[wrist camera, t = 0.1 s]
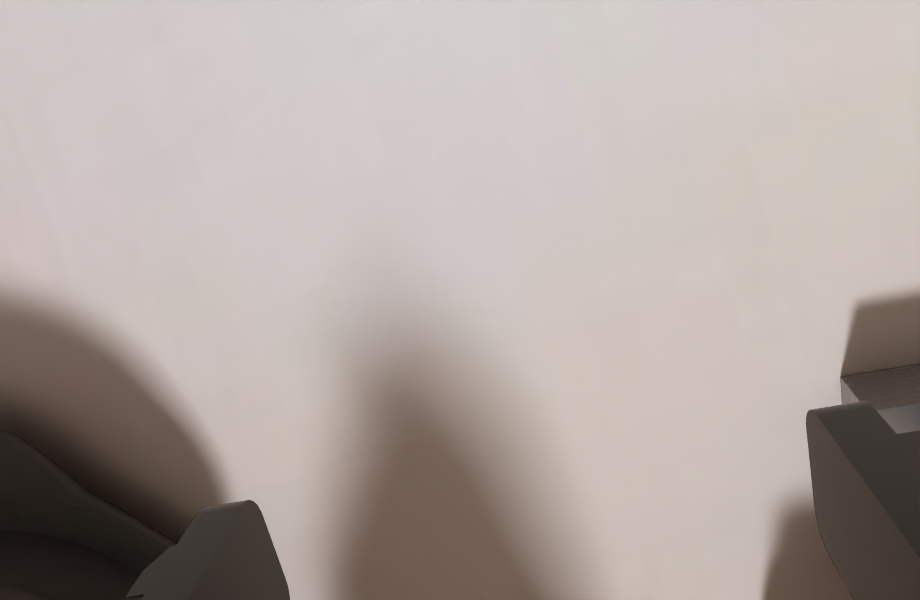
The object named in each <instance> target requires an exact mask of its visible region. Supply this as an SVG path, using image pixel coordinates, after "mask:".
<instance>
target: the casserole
mask: <svg viewBox="0 0 920 600" xmlns="http://www.w3.org/2000/svg"><path fill="white" fill-rule="evenodd" d="M175 545H176V544H175V543H174V542H173V541H172V540H170V539H168V538H167V537H165V536H163V535H161V534H160V533H158V532H156V531H155V530H153V529H151V528H150V527H148V526H146V525H144V524H143V523H141V522H139V521H138V520H136V519H134V518H133V517H131V516H129V515H127V514H126V513H124V512H122V511H121V510H119V509H117V508H115V507H114V506H112V505H110V504H108V503H107V502H105V501H103V500H102V499H100V498H98V497H96V496H95V495H93V494H91V493H90V492H89V491H87V490H86V489H85V488H84V487H83V486H81V485H80V484H79V483H78V482H76V481H75V480H74V479H73V478H72V477H70V476H69V475H68V474H67V473H66V472H64V471H63V470H62V469H61V468H59V467H58V466H57V465H56V464H55V463H53V462H52V461H51V460H49V459H48V458H47V457H45V456H44V455H43V454H42V453H40V452H39V451H38V450H36V449H35V448H34V447H32V446H31V445H30V444H28V443H27V442H26V441H24V440H23V439H22V438H20V437H19V436H18V435H16V434H13V433H11V432H8V431H5V430H2V429H0V600H126V598H125V597H126V595H127V594H128V592H129V591H130V589H131V588H132V586H133V585H134V583H135V582H136V580H137V579H138V577H139V576H140V575H141V573H142V572H143V570H144V569H146V568H147V567H148V566H149V565H150V564H151V563H152V562H154V561H155V560H156V559H157V558H158V557H159V556H160V555H162V554H163V553H164V552H165V551H166V550H167V549H168V548H169V547H171V546H175Z"/></svg>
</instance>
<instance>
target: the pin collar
mask: <svg viewBox="0 0 920 600" xmlns="http://www.w3.org/2000/svg"><path fill="white" fill-rule="evenodd" d="M841 392H842V405H844V404H850V403H856V402H862V401H867V402H869V403H870V404H871V405H872V406H873V407H874V408H875V410H876V411H877V412H878V413H879V414H880V415H881V416H882V418H883V419H884V420H885V421H886V422H887V423H888V424H889V425H890V427H891V428H892V429H893V430H894V431H895V432H896V433H897V434H900V433H906V432H913V431H920V364H917V365H911V366H905V367H899V368H893V369H887V370H881V371H875V372H869V373H863V374H857V375H851V376H845V377H841Z"/></svg>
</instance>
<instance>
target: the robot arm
mask: <svg viewBox="0 0 920 600" xmlns="http://www.w3.org/2000/svg"><path fill="white" fill-rule="evenodd" d="M806 428H807V439H808V448H809V458H810V468H811V478H812V488H813V497H814V507H815V513H816V518H817V523H818V527H819V530H820V534H821V537H822V540H823V542H824V545H825V547H826V550H827V552H828V554H829V556H830V558H831V560H832V561H833V563H834V565H835V567H836V568H837V570H838V572H839V574H840V576H841V577H842V579H843V581H844V583H845V585H846V586H847V588H848V590H849V592H850V593H851V595H852V597H853V599H854V600H920V431H913V432H906V433H900V434H897V433H896V432H895V431H894V430H893V429H892V428H891V427H890V425H889V424H888V423H887V422H886V421H885V420H884V419H883V418H882V416H881V415H880V414H879V413H878V412H877V411H876V410H875V408H874V407H873V406H872V405H871V404H870V403H869V402H867V401H862V402H856V403H850V404H844V405H838V406H832V407H825V408H819V409H813V410H809V411H808V412H807V416H806ZM125 598H126V600H290V596H289V589H288V585H287V582H286V579H285V576H284V573H283V570H282V568H281V565H280V562H279V559H278V557H277V554H276V551H275V548H274V546H273V543H272V540H271V537H270V534H269V532H268V529H267V526H266V523H265V521H264V518H263V515H262V513H261V510H260V509H259V507H258V505H257V504H256V503H255V502H254V501H251V500H246V501H240V502H234V503H228V504H222V505H216V506H210V507H204V508H202V509H200V510H199V511H198V512H197V514H196V515H195V517H194V518H193V520H192V522H191V523H190V525H189V526H188V528H187V529H186V531H185V532H184V534H183V536H182V537H181V539H180V540H179V542H178V543H177V545H175V546H171V547H169V548H168V549H167V550H166V551H165V552H164V553H163V554H162V555H160V556H159V557H158V558H157V559H156V560H155V561H154V562H152V563H151V564H150V565H149V566H148V567H147V568H146V569H144V570H143V572H142V573H141V575H140V576H139V577H138V579H137V580H136V582H135V583H134V585H133V586H132V588H131V589H130V591H129V592H128V594H127V595H126V597H125Z"/></svg>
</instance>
